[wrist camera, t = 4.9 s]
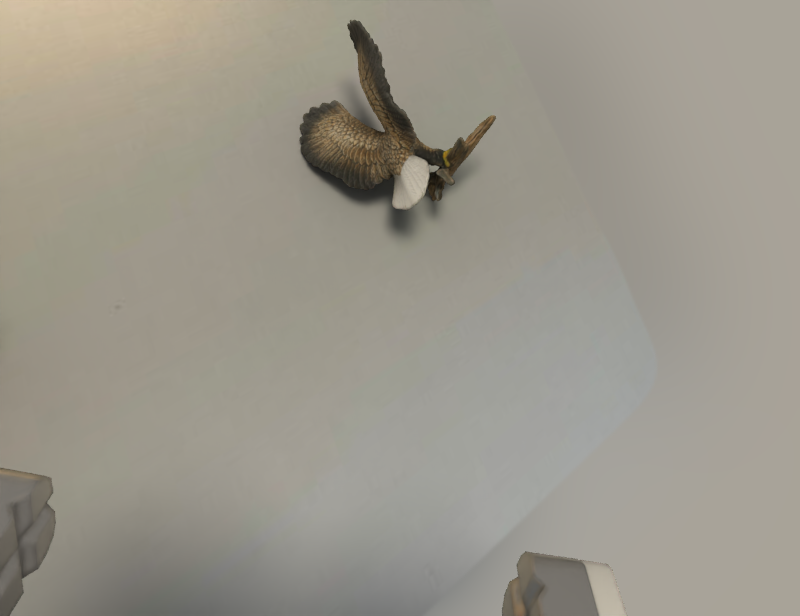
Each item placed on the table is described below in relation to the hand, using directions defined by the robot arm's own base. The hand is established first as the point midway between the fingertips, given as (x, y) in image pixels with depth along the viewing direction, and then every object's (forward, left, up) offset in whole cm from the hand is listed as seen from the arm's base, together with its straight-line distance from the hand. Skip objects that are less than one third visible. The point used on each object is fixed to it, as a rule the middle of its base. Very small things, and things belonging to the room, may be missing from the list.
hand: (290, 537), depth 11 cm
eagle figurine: (0, -19, -21) cm, 28 cm away
